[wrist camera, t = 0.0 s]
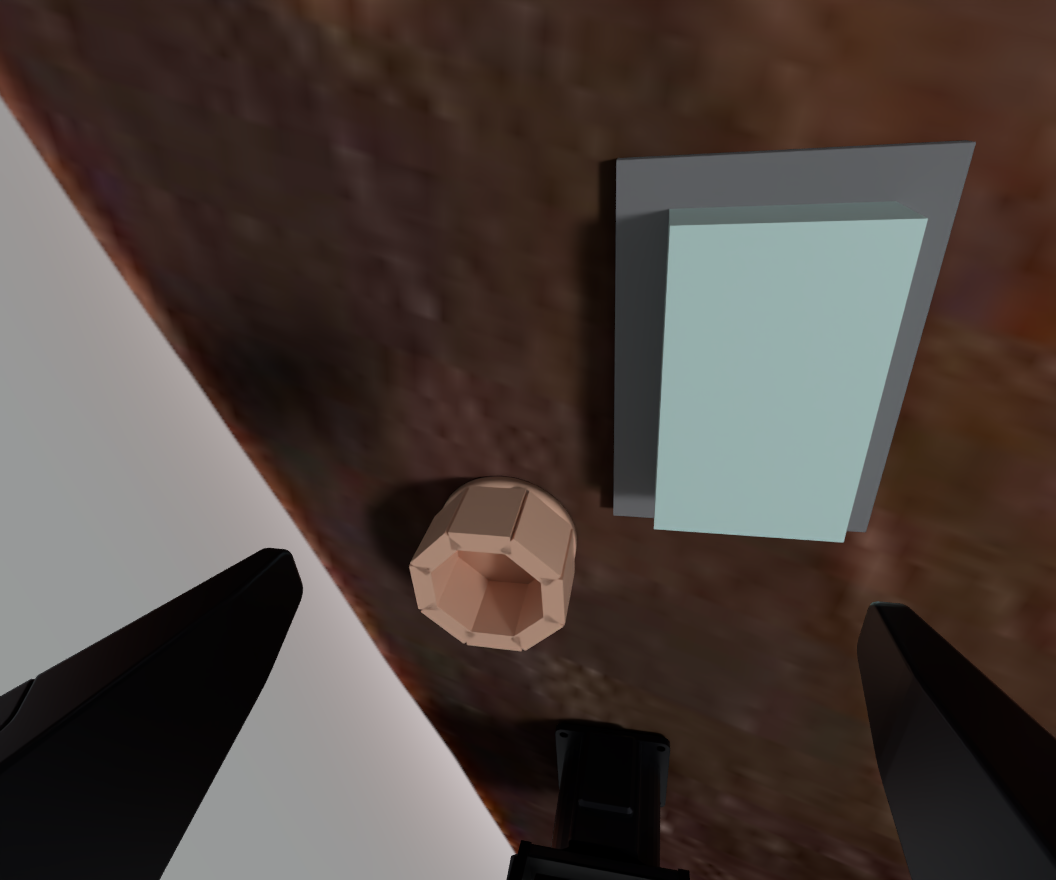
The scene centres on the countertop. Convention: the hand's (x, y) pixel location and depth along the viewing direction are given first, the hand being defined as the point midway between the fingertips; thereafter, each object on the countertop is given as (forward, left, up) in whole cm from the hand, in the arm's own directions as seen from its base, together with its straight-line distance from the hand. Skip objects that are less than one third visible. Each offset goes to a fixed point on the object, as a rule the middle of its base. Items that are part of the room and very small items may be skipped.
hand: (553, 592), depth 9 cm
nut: (-11, +5, -15) cm, 19 cm away
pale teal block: (-2, -5, -14) cm, 15 cm away
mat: (-2, -5, -15) cm, 16 cm away
